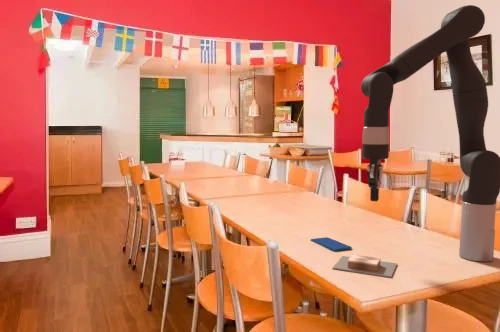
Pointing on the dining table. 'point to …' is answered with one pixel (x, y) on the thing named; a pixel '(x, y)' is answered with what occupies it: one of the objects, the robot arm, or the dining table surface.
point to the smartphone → (331, 244)
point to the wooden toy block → (364, 263)
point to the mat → (384, 270)
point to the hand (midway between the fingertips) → (374, 200)
